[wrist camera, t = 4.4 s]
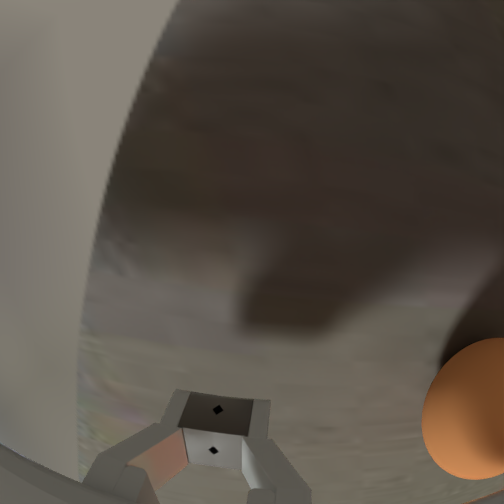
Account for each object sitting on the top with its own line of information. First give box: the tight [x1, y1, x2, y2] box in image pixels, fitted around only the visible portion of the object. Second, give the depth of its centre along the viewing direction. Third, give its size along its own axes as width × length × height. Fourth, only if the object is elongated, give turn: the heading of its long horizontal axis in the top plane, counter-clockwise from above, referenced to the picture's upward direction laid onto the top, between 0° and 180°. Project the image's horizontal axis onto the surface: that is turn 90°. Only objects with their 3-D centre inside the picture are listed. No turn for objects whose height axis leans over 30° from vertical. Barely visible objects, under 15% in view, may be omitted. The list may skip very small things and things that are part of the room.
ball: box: [422, 338, 504, 479], centre depth 8 cm, size 6×6×6 cm
